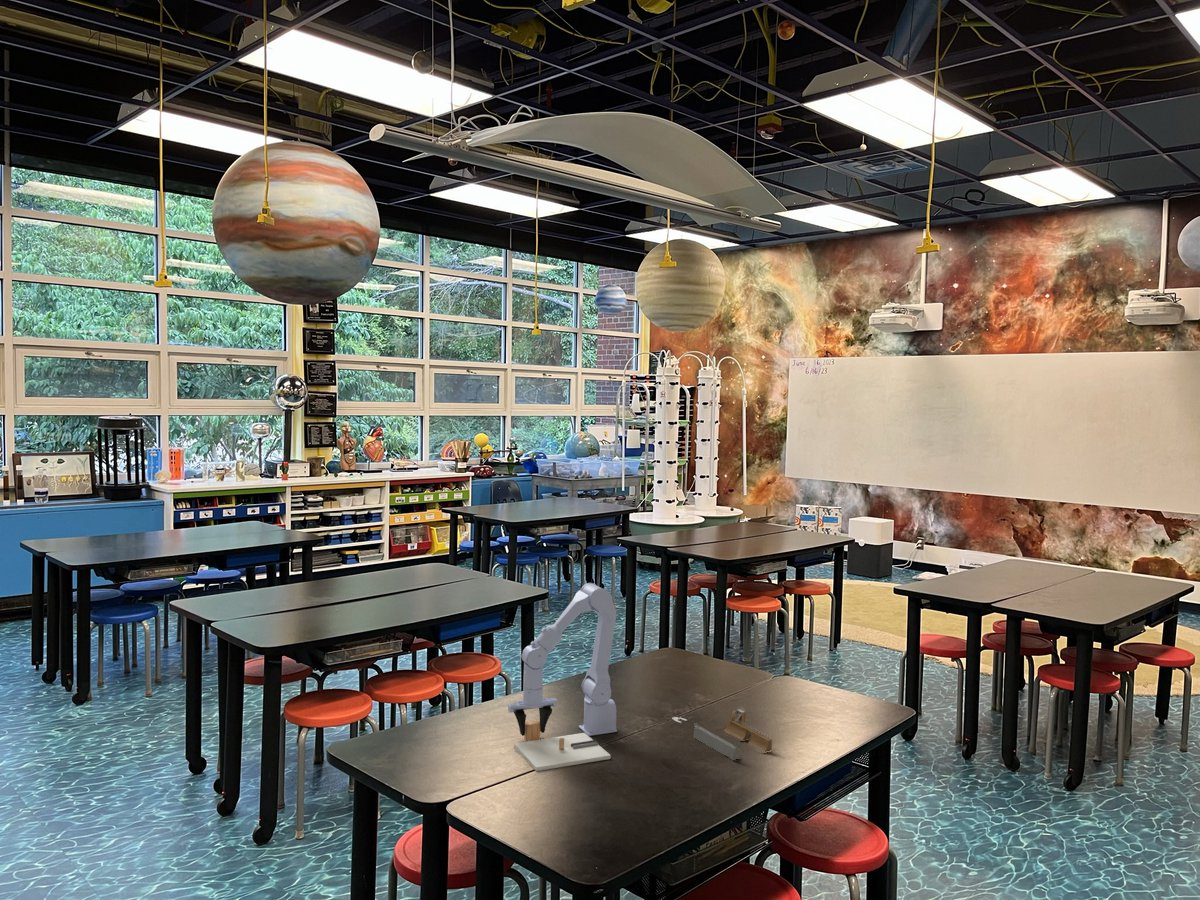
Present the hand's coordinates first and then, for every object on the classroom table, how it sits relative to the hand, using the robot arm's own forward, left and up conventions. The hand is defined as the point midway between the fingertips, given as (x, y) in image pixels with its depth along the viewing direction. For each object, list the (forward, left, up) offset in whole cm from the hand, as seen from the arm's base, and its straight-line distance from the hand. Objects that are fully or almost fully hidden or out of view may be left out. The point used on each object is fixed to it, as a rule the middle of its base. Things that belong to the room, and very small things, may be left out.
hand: (532, 733), depth 245 cm
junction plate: (-4, +13, -2) cm, 14 cm away
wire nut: (0, 0, -2) cm, 2 cm away
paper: (-50, -2, -2) cm, 50 cm away
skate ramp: (-58, +26, -2) cm, 64 cm away
